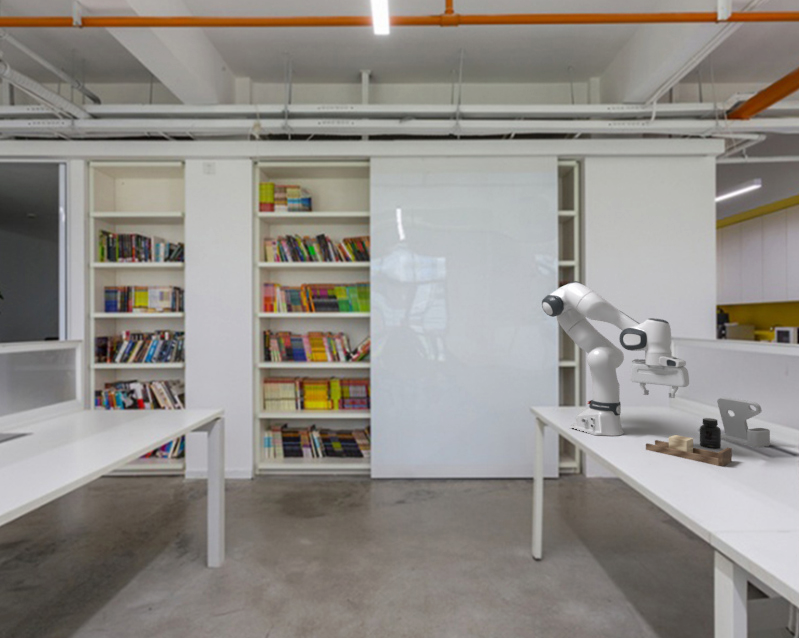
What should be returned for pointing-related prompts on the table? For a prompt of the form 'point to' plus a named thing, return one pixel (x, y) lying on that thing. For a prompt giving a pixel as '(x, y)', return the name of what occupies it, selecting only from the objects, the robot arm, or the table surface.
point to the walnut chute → (694, 453)
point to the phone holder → (742, 423)
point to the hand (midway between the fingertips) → (658, 396)
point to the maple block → (681, 443)
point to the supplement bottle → (710, 434)
